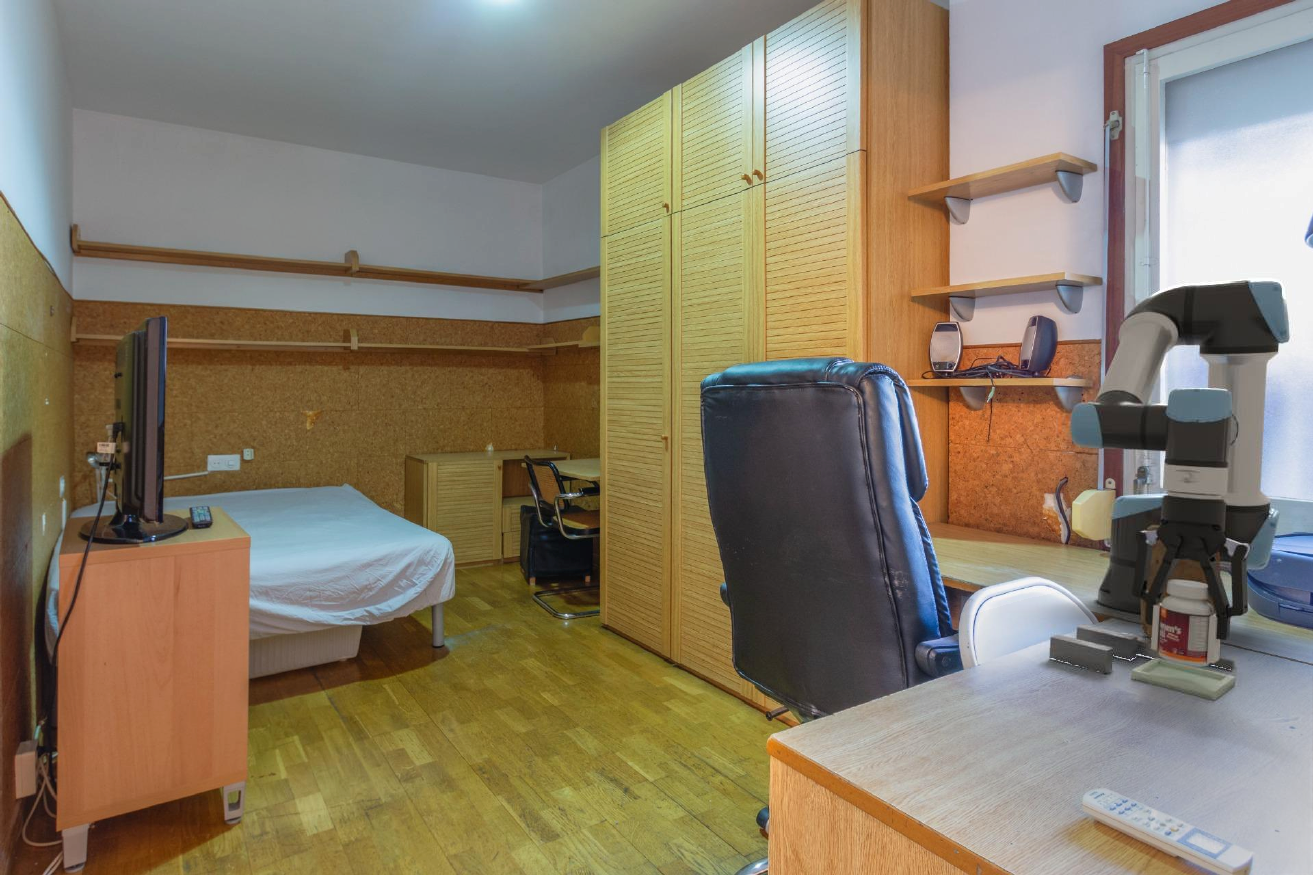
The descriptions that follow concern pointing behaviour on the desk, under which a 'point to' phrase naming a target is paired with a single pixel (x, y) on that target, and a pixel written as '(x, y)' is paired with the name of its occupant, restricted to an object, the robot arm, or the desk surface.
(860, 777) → the desk surface
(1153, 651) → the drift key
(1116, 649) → the socket
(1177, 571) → the block
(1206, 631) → the pill bottle
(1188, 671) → the tray
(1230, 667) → the rail
